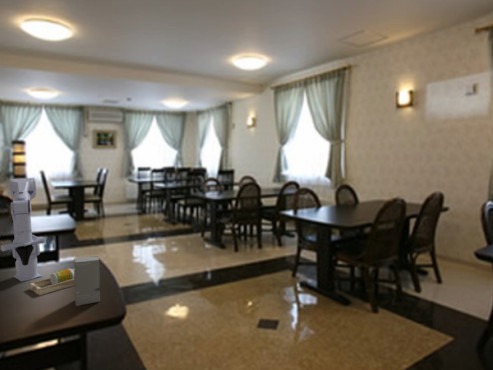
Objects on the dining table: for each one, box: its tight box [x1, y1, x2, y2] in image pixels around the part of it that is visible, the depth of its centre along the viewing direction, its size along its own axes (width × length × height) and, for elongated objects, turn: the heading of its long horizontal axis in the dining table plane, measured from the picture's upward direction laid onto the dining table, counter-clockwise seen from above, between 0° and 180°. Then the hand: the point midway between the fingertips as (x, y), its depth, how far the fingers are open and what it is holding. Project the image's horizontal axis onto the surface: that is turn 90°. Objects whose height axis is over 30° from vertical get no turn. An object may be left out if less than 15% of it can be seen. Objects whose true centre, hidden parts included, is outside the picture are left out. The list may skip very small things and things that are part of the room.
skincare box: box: [73, 255, 101, 307], centre depth 124 cm, size 8×7×16 cm
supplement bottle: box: [49, 268, 75, 285], centre depth 142 cm, size 5×5×10 cm
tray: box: [28, 277, 75, 296], centre depth 140 cm, size 10×20×2 cm, turn 141°
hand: (25, 264), depth 134 cm, fingers closed
